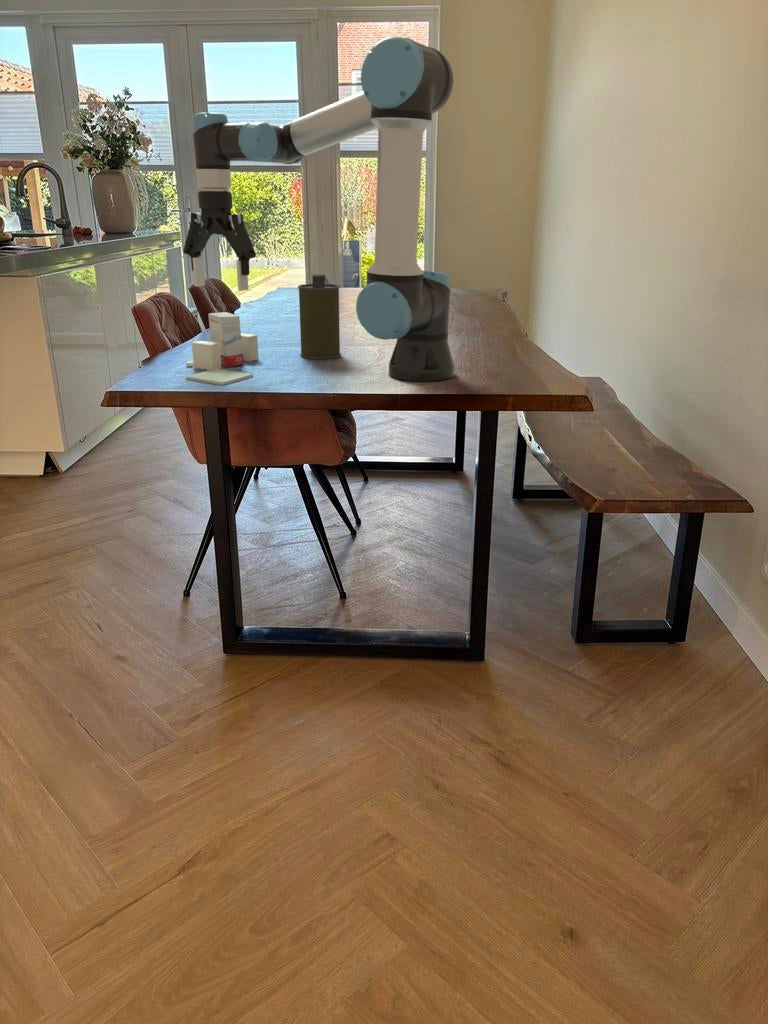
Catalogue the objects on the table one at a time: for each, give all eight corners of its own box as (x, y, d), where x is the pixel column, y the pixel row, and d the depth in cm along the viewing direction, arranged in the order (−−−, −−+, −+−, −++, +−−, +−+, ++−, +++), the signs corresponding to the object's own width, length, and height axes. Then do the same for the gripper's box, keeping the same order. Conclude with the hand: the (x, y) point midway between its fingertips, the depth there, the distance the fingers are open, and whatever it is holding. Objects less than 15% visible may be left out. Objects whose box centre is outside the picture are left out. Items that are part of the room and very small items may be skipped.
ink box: (244, 365, 185) (241, 315, 180) (224, 368, 182) (221, 317, 177) (230, 359, 191) (226, 311, 187) (211, 361, 189) (207, 312, 184)
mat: (252, 376, 173) (252, 374, 173) (222, 385, 165) (222, 382, 165) (216, 371, 178) (216, 368, 178) (185, 379, 170) (185, 376, 170)
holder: (258, 359, 192) (257, 335, 189) (212, 370, 179) (210, 345, 176) (233, 355, 196) (231, 331, 193) (186, 366, 183) (184, 341, 180)
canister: (339, 359, 192) (338, 277, 184) (298, 359, 192) (295, 276, 184) (341, 351, 202) (340, 272, 194) (302, 351, 202) (299, 272, 194)
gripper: (268, 191, 169) (272, 290, 177) (186, 189, 181) (193, 282, 189) (246, 190, 163) (251, 293, 171) (162, 189, 175) (171, 285, 183)
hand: (221, 288), depth 180 cm, fingers open, 13 cm apart
